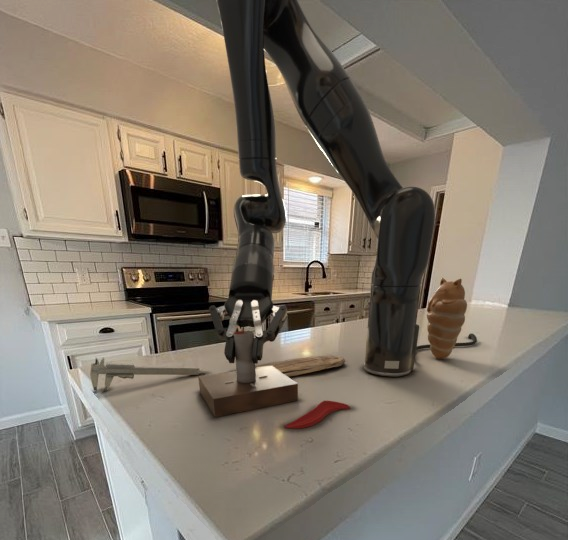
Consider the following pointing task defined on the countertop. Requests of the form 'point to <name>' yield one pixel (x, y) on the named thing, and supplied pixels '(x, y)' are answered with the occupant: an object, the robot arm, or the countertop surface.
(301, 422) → the cayenne pepper
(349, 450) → the countertop surface
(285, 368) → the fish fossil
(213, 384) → the rod block
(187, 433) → the countertop surface
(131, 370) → the caliper
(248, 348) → the rod
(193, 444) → the countertop surface
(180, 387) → the countertop surface
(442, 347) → the cat bread figurine
